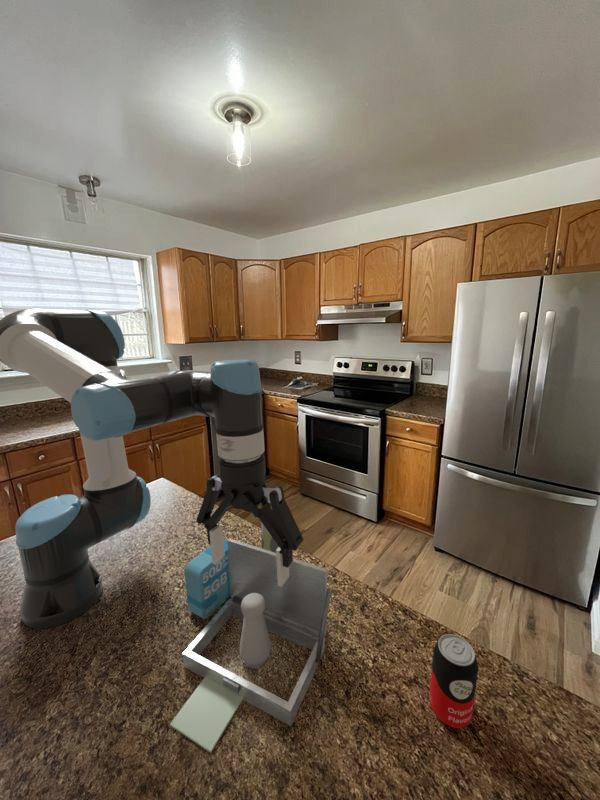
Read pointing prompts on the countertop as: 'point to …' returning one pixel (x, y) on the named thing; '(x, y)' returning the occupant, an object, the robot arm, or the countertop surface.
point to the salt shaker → (254, 632)
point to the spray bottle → (267, 540)
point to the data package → (207, 583)
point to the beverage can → (453, 681)
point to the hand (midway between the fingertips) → (249, 569)
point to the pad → (206, 714)
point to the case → (269, 622)
